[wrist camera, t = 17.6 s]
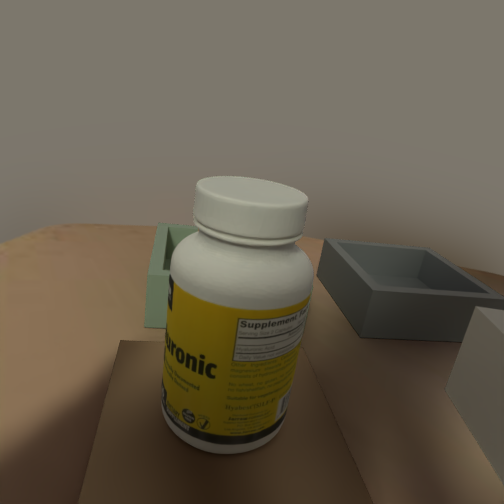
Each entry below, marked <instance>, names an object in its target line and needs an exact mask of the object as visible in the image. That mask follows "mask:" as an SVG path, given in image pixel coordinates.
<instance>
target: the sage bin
mask: <svg viewBox="0 0 504 504" xmlns="http://www.w3.org/2000/svg"><path fill="white" fill-rule="evenodd" d="M195 232H198V228H197V227H196V226H189V225H178V224H167V223H158V227H157V231H156V236H155V241H154V246H153V251H152V256H151V260H150V265H149V270H148V276H147V292H146V308H145V324H144V327H148V328H166V320H167V305H168V292H169V275H170V266H171V258H172V254H173V252H174V250H175V248H176V246H177V245H178V244H179V243H180V242H181V241H182V240H183V239H184V238H186V237H187V236H189V235H191V234H193V233H195ZM312 290H313V285H312ZM311 295H312V291H311ZM310 299H311V296H310ZM309 304H310V300H309ZM308 308H309V305H308ZM307 313H308V310H307ZM306 318H307V314H306ZM305 322H306V320H305ZM304 327H305V325H304ZM303 332H304V329H303Z"/></svg>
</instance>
